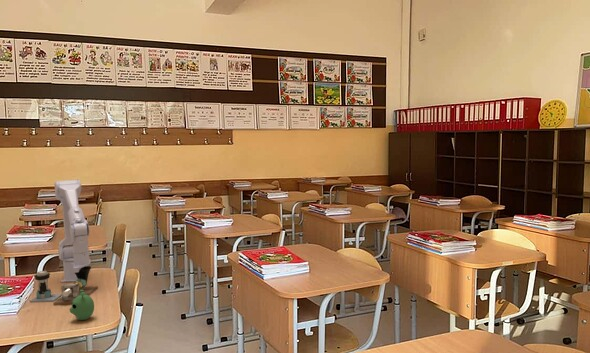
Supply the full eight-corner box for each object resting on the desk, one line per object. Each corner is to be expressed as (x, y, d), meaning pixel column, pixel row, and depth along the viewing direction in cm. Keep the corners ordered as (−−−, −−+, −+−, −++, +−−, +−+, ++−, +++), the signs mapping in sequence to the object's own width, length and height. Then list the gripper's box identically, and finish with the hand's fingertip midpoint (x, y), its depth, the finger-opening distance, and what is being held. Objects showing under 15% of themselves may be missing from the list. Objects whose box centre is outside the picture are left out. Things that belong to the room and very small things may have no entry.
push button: (56, 294, 191) (54, 269, 190) (54, 298, 186) (52, 272, 185) (37, 296, 189) (35, 271, 188) (34, 300, 184) (32, 274, 183)
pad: (39, 296, 191) (39, 294, 191) (62, 295, 191) (62, 293, 191) (30, 302, 184) (30, 300, 184) (53, 301, 184) (53, 299, 184)
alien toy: (69, 318, 165) (67, 290, 165) (94, 314, 169) (92, 286, 168) (70, 325, 159) (68, 295, 158) (96, 320, 163) (94, 291, 162)
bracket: (75, 289, 199) (74, 274, 198) (97, 288, 199) (96, 274, 198) (53, 305, 180) (52, 289, 179) (77, 304, 180) (76, 288, 179)
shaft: (76, 287, 194) (75, 278, 193) (86, 287, 194) (85, 277, 193) (59, 300, 179) (58, 289, 179) (70, 299, 179) (69, 289, 179)
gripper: (77, 248, 201) (79, 280, 202) (63, 257, 187) (66, 291, 188) (94, 247, 202) (96, 279, 203) (82, 256, 187) (84, 290, 188)
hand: (83, 285), depth 195 cm, fingers closed
